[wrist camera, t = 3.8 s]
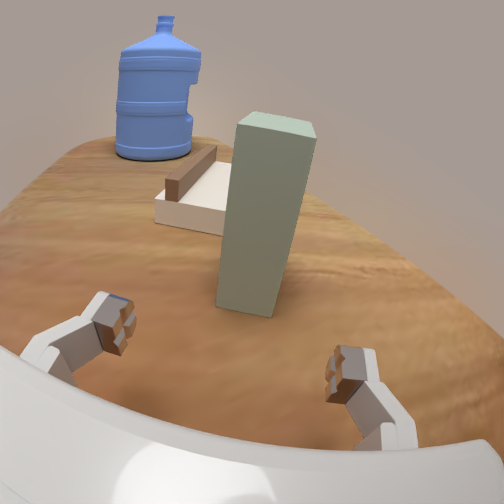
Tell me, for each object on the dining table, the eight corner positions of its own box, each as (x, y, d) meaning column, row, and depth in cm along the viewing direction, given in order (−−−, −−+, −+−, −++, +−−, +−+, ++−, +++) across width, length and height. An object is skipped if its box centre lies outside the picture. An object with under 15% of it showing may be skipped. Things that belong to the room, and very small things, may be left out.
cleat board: (271, 189, 45) (278, 156, 42) (259, 243, 32) (268, 196, 29) (196, 176, 46) (199, 143, 43) (154, 222, 32) (154, 176, 29)
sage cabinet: (278, 262, 30) (310, 120, 22) (271, 318, 23) (316, 138, 15) (234, 253, 30) (255, 110, 22) (215, 306, 23) (237, 123, 16)
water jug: (134, 167, 46) (148, 5, 31) (105, 148, 54) (113, 20, 39) (206, 154, 56) (225, 18, 41) (166, 138, 65) (179, 24, 49)
